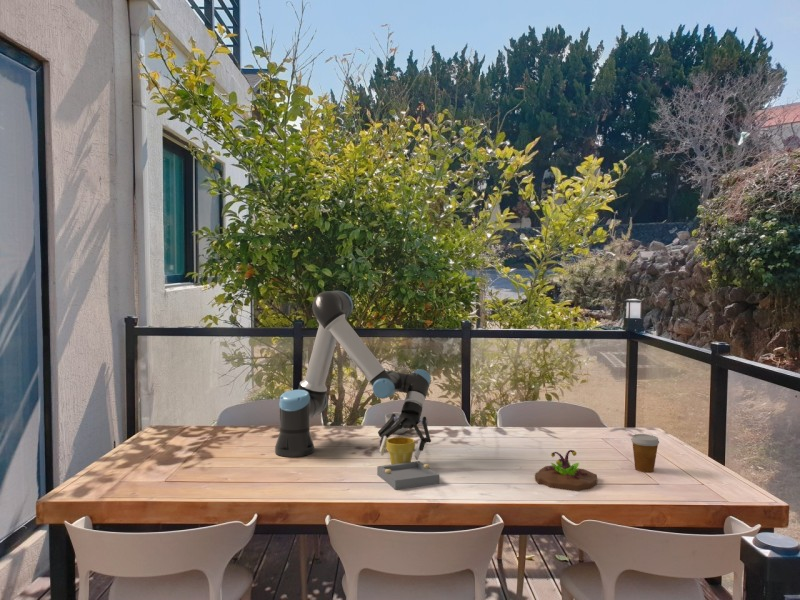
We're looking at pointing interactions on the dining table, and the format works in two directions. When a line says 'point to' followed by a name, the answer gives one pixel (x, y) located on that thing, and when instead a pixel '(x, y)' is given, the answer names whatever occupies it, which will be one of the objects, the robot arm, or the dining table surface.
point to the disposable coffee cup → (644, 451)
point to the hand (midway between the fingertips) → (398, 455)
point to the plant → (566, 475)
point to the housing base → (408, 475)
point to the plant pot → (400, 449)
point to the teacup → (395, 423)
